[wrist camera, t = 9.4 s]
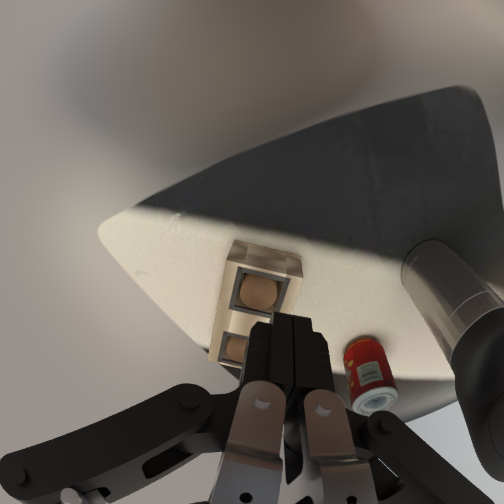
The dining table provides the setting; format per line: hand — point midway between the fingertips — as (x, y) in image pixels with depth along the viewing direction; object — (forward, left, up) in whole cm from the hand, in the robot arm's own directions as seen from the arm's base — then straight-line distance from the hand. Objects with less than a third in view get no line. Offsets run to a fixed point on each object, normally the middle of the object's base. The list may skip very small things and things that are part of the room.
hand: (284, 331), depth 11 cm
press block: (0, +17, -26) cm, 31 cm away
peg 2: (0, +12, -26) cm, 29 cm away
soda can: (-20, +22, -26) cm, 40 cm away
